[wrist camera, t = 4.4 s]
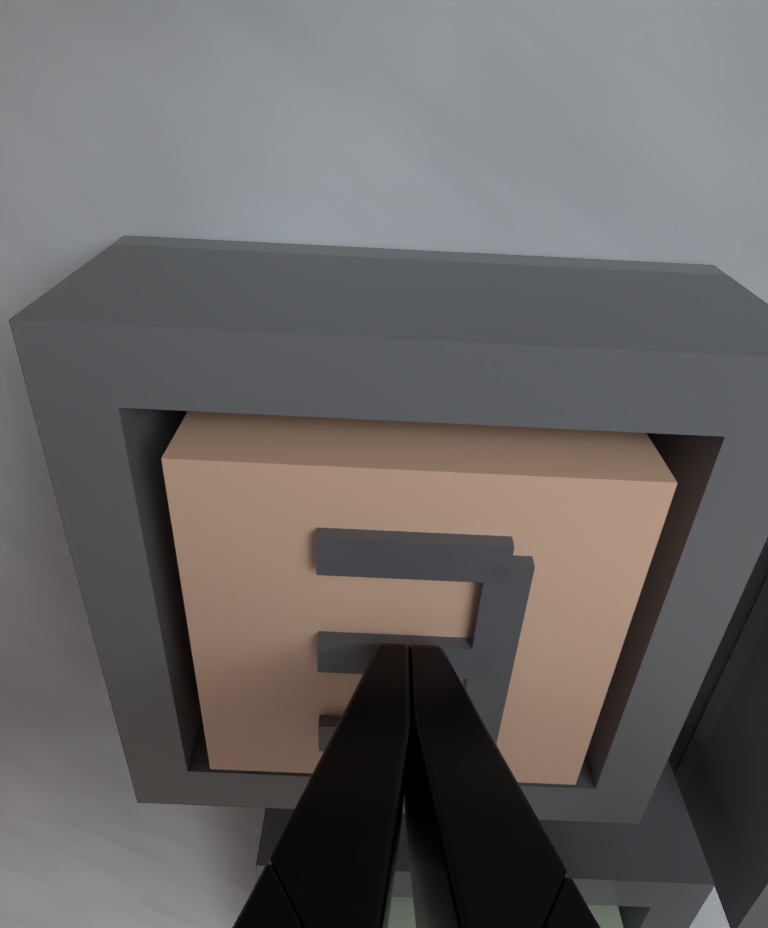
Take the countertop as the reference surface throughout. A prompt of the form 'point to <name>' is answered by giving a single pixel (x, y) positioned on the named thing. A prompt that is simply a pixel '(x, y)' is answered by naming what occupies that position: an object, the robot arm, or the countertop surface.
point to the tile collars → (455, 402)
